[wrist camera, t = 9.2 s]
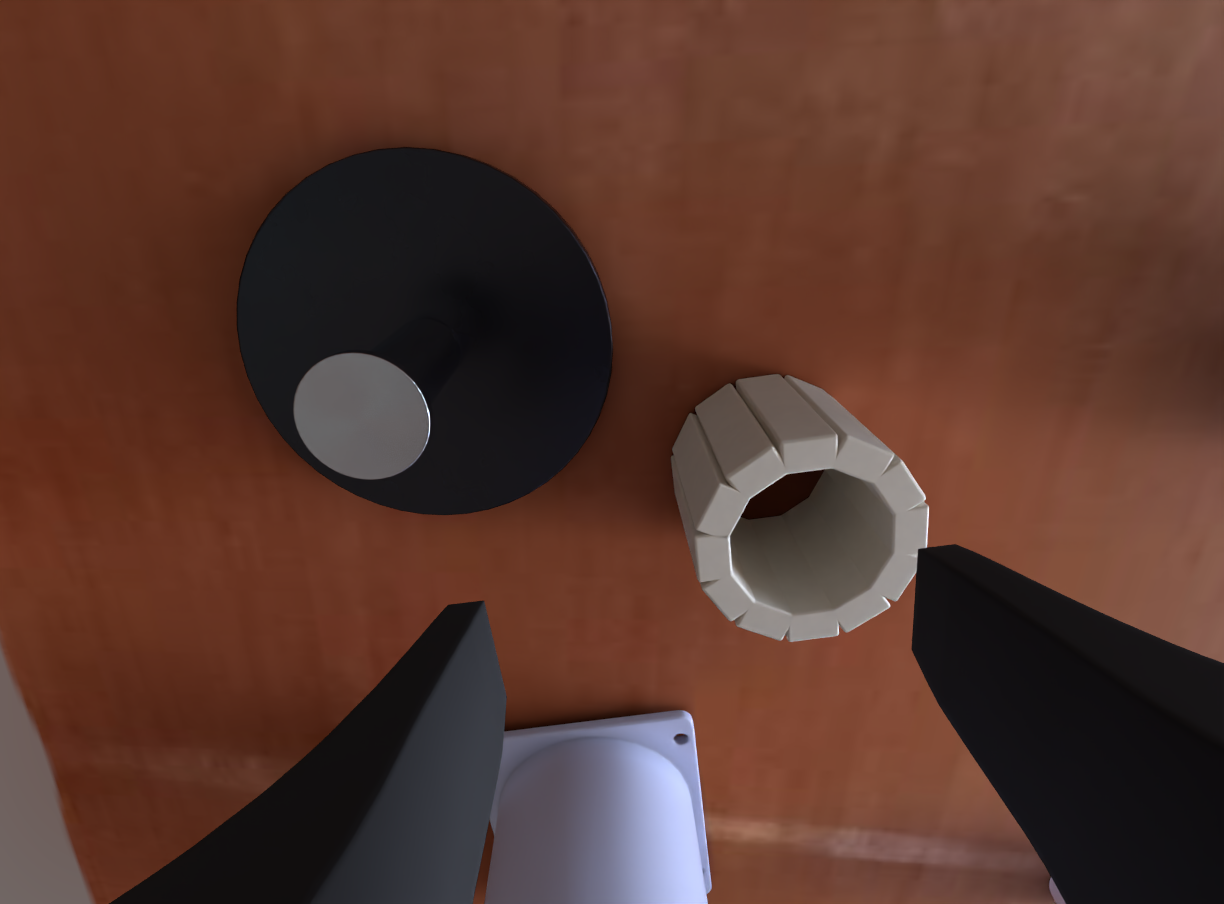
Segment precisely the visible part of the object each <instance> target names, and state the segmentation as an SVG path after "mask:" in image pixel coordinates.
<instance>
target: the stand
mask: <svg viewBox="0 0 1224 904" xmlns="http://www.w3.org/2000/svg"><path fill="white" fill-rule="evenodd" d="M237 332H238V338H239V345H240V352H241V355H242V359H243V362H244V366H245V369H246V373H247V376H248V379H249V381H250V383H251V386H252V388H253V390H254V393H255V395H256V397H257V399H258V401H259V403H260V405H261V406H262V408H263V410H264V412H265V413H266V415H267V417H268V419H269V420H270V421H271V423H272V424H273V425H274V427H275V428H276V429H277V431H278V432H279V434H280V435H281V436H282V438H283V439H284V440H285V441H286V442H287V443H288V444H289V445H290V446H291V447H292V449H293V450H294V451H295V452H296V453H297V454H298V455H299V456H300V457H301V458H302V459H304V460H305V461H306V462H307V463H308V464H309V465H311V466H312V467H313V468H314V469H315V470H316V471H318V472H319V473H320V474H322V475H323V476H325V477H326V478H328V479H329V480H331V481H332V482H334V483H335V484H337V485H338V486H340V487H342V488H344V489H346V490H348V491H349V492H351V493H353V494H355V495H357V496H359V497H362V498H364V499H367V500H369V501H372V502H374V503H377V504H379V505H383V506H386V507H390V508H394V509H397V510H401V511H407V512H413V513H419V514H432V515H454V514H467V513H473V512H478V511H483V510H488V509H491V508H495V507H498V506H501V505H504V504H507V503H510V502H512V501H514V500H516V499H518V498H520V497H523V496H525V495H527V494H529V493H531V492H532V491H534V490H535V489H537V488H538V487H540V486H542V485H543V484H545V483H546V482H548V481H549V480H550V479H551V478H552V477H554V476H555V475H556V474H557V473H558V472H560V471H561V470H562V469H563V468H564V467H565V466H566V465H567V464H568V463H569V461H570V460H571V459H572V458H573V457H574V456H575V455H576V454H577V453H578V451H579V450H580V448H581V447H582V445H583V444H584V443H585V441H586V440H587V438H588V437H589V435H590V434H591V432H592V430H593V428H594V426H595V424H596V422H597V420H598V418H599V416H600V413H601V410H602V407H603V404H604V402H605V399H606V396H607V392H608V387H609V382H610V377H611V371H612V356H613V342H612V327H611V319H610V314H609V309H608V304H607V299H606V295H605V292H604V289H603V287H602V284H601V281H600V278H599V275H598V272H597V270H596V268H595V266H594V264H593V262H592V260H591V258H590V256H589V254H588V252H587V250H586V249H585V247H584V246H583V244H582V243H581V241H580V240H579V238H578V237H577V235H576V234H575V232H574V231H573V229H572V228H571V227H570V226H569V225H568V223H567V222H566V221H565V220H564V219H563V218H562V216H561V215H560V214H559V213H558V212H557V211H556V210H555V209H554V208H553V207H552V206H551V205H550V204H549V203H548V202H547V201H545V200H544V199H543V198H542V197H541V196H540V195H539V194H538V193H537V192H535V191H534V190H532V189H531V188H529V187H528V186H527V185H525V184H524V183H522V182H521V181H519V180H518V179H516V178H515V177H513V176H511V175H509V174H507V173H505V172H504V171H502V170H500V169H498V168H496V167H494V166H492V165H490V164H487V163H484V162H481V161H479V160H476V159H473V158H470V157H467V156H464V155H459V154H455V153H450V152H445V151H441V150H436V149H425V148H411V147H401V148H387V149H377V150H373V151H368V152H364V153H359V154H355V155H352V156H349V157H346V158H344V159H341V160H339V161H336V162H334V163H331V164H329V165H327V166H325V167H323V168H322V169H320V170H318V171H316V172H315V173H313V174H311V175H310V176H308V177H306V178H305V179H304V180H302V181H301V182H300V183H299V184H298V185H296V186H295V187H294V188H293V189H291V190H290V191H289V192H288V193H287V194H286V195H285V196H284V197H283V198H282V199H281V200H280V201H279V202H278V204H277V205H276V206H275V207H274V208H273V209H272V210H271V211H270V213H269V214H268V216H267V217H266V219H265V220H264V222H263V223H262V225H261V227H260V228H259V230H258V231H257V233H256V235H255V237H254V239H253V242H252V244H251V246H250V248H249V251H248V253H247V255H246V259H245V262H244V266H243V269H242V273H241V277H240V281H239V289H238V297H237Z"/></svg>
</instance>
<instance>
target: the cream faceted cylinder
mask: <svg viewBox="0 0 1224 904" xmlns="http://www.w3.org/2000/svg"><path fill="white" fill-rule="evenodd" d="M695 411H696V414H697V415H695V414H693V413H689V415H688V417H687V419H686V421H685V423H684V425H683V427H682V429H681V431H680V433H679V436H678V438H677V440H676V442H675V444H674V446H673V448H672V451H673V455H672V456H671V464H672V473H673V482H674V492H675V496H676V499H677V503H678V507H679V511H680V515H681V518H682V522H683V526H684V530H685V534H686V537H687V541H688V545H689V549H690V553H691V557H692V560H693V564H694V568H695V572H696V576H697V579H698V581H699V582H700V584H701V587H702V590H703V591H704V592H705V593H706V595H707V596H708V597H709V598H710V599H711V600H712V602H713V603H714V604H715V605H716V606H717V607H718V609H719V610H720V611H721V612H722V613H723V614H724V616H725V617H726V618H727V619H728V620H729V621H733V620H735V623H736V625H737V626H738V627H740V628H743V629H746V630H749V631H752V632H755V633H758V634H761V635H764V636H767V637H770V638H773V639H776V640H779V641H780V640H782V639H783V637H784V636H785V635H786V637H787V640H788V641H790V642H792V641H800V640H808V639H816V638H824V637H832V636H838V635H839V625H840V627H841V628H842V629H843V630H844V632H846V633H847V632H849V631H851V630H852V629H854V628H856V627H857V626H859V625H861V624H862V623H864V622H866V621H868V620H869V619H871V618H873V617H874V616H876V615H878V614H879V613H881V612H883V611H884V610H886V609H888V608H889V607H890V604H889V603H888V601H887V600H886V598H888V599H891V600H893V601H897V600H898V598H899V597H900V595H901V594H902V592H903V591H904V589H905V588H906V586H907V585H908V583H909V582H910V581H911V579H912V578H913V576H914V575H915V573H916V572H917V556H918V549H920V548H927V532H928V514H929V507H928V505H927V504H926V503H925V502H924V500H925V499H926V498H925V494H924V493H923V491H922V490H921V488H920V487H919V485H918V484H917V482H916V481H915V479H914V478H913V476H912V475H911V473H910V472H909V470H908V468H907V467H906V465H905V464H904V462H903V461H902V460H901V459H900V458H899V457H898V456H897V455H896V454H895V453H894V452H892V451H891V450H890V449H889V448H888V447H887V446H886V445H885V444H884V443H882V442H881V441H880V440H879V439H878V438H877V437H876V436H875V435H874V434H873V433H871V432H870V431H869V430H868V429H867V428H866V427H865V426H864V425H863V424H861V423H860V422H859V421H858V420H857V419H856V418H855V417H854V416H853V415H852V414H850V413H849V412H848V411H847V410H846V409H845V408H844V407H843V406H842V405H840V404H839V403H838V402H837V401H836V400H835V399H834V398H833V397H832V396H830V395H829V394H827V393H826V392H825V391H824V390H823V389H821V388H818V387H816V386H814V385H811V384H809V383H806V382H804V381H801V380H799V379H797V378H794V377H792V376H789V375H786V376H785V377H784V379H783V377H782V376H781V375H779V374H774V375H766V376H759V377H752V378H744V379H738V380H737V381H736V389H735V388H734V387H733V385H732V384H730V383H729V384H727V385H725V386H724V387H723V388H721V389H720V390H718V391H717V392H716V393H714V394H713V395H711V396H710V397H709V398H707V399H706V400H704V401H703V402H702V403H700V404H699V405H697V406H696V407H695ZM823 469H825V470H824V472H823V474H822V475H821V477H820V479H819V481H818V482H817V484H816V486H815V487H814V489H813V491H812V493H811V494H810V496H809V498H807V499H806V500H804V501H802V502H801V503H799V504H798V505H796V506H795V507H793V508H792V509H790V510H789V511H787V512H786V513H784V514H783V515H781V516H774V517H766V518H759V519H751V520H748V519H745V518H742V517H740V516H741V514H742V513H743V511H744V509H745V507H746V505H747V503H748V501H749V500H750V498H752V497H753V496H755V495H756V494H758V493H759V492H761V491H762V490H764V489H765V488H767V487H768V486H770V485H771V484H773V483H774V482H776V481H777V480H779V479H780V478H782V477H783V476H785V475H786V474H793V473H800V472H808V471H815V470H823Z"/></svg>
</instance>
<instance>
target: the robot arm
mask: <svg viewBox="0 0 1224 904" xmlns="http://www.w3.org/2000/svg"><path fill="white" fill-rule="evenodd" d="M912 651H913V653H914V656H915V658H916V660H917V662H918V664H919V666H920V668H921V670H922V672H923V674H924V677H925V679H926V681H927V683H928V685H929V687H930V688H931V690H932V692H933V694H934V696H935V698H936V700H937V702H938V704H939V706H940V707H941V709H942V710H943V712H944V713H945V715H946V717H947V718H948V720H949V721H950V723H951V724H952V726H953V727H954V729H955V730H956V732H957V733H958V735H959V736H960V738H961V739H962V741H963V742H964V744H965V745H966V747H967V748H968V750H969V751H970V753H971V754H972V756H973V757H974V759H975V760H976V762H977V763H978V765H979V766H980V768H981V769H982V771H983V772H984V774H985V775H986V777H987V778H988V779H989V781H990V782H991V784H992V785H993V787H994V788H995V790H996V791H997V793H998V794H999V796H1000V797H1001V799H1002V800H1003V802H1004V803H1005V805H1006V806H1007V808H1008V809H1009V811H1010V812H1011V814H1012V815H1013V817H1014V818H1015V820H1016V821H1017V823H1018V824H1019V825H1020V827H1021V828H1022V830H1023V831H1024V833H1025V834H1026V836H1027V838H1028V839H1029V841H1030V842H1031V844H1032V846H1033V847H1034V849H1035V851H1036V852H1037V854H1038V855H1039V857H1040V859H1041V860H1042V862H1043V863H1044V865H1045V867H1046V868H1047V870H1048V872H1049V874H1050V876H1051V878H1052V879H1053V881H1054V883H1055V885H1056V887H1057V888H1058V890H1059V892H1060V894H1061V896H1062V898H1063V899H1064V901H1065V903H1066V904H1224V663H1222V662H1219V661H1216V660H1213V659H1211V658H1208V657H1205V656H1202V655H1200V654H1197V653H1195V652H1192V651H1190V650H1187V649H1185V648H1182V647H1180V646H1177V645H1175V644H1172V643H1170V642H1167V641H1165V640H1163V639H1160V638H1158V637H1156V636H1153V635H1151V634H1149V633H1146V632H1144V631H1142V630H1139V629H1137V628H1135V627H1132V626H1130V625H1128V624H1125V623H1123V622H1121V621H1118V620H1116V619H1114V618H1112V617H1110V616H1107V615H1105V614H1103V613H1101V612H1099V611H1096V610H1094V609H1092V608H1090V607H1088V606H1086V605H1083V604H1081V603H1079V602H1077V601H1075V600H1073V599H1071V598H1069V597H1067V596H1064V595H1062V594H1060V593H1058V592H1056V591H1054V590H1052V589H1050V588H1048V587H1046V586H1044V585H1042V584H1040V583H1038V582H1036V581H1033V580H1031V579H1029V578H1027V577H1025V576H1023V575H1021V574H1019V573H1017V572H1015V571H1013V570H1011V569H1009V568H1007V567H1005V566H1003V565H1001V564H999V563H997V562H994V561H992V560H990V559H988V558H986V557H984V556H982V555H980V554H977V553H975V552H973V551H971V550H968V549H966V548H963V547H961V546H959V545H956V544H954V545H945V546H937V547H929V548H920V549H918V556H917V572H916V588H915V604H914V620H913V636H912ZM506 698H507V696H506V692H505V688H504V684H503V679H502V675H501V671H500V667H499V662H498V658H497V654H496V650H495V645H494V641H493V637H492V632H491V628H490V624H489V620H488V615H487V611H486V607H485V603H484V601H477V602H468V603H460V604H451V605H448V606H447V607H446V608H445V609H444V610H443V611H442V612H441V613H440V614H439V615H438V617H437V618H436V619H435V620H434V621H433V622H432V623H431V625H430V626H429V627H428V628H427V629H426V630H425V632H424V633H423V634H422V635H421V636H420V637H419V639H418V640H417V641H416V642H415V643H414V644H413V645H412V647H411V648H410V649H409V650H408V651H407V652H406V654H405V655H404V656H403V657H402V658H401V659H400V660H399V661H398V662H397V664H396V665H395V666H394V667H393V668H392V669H391V670H390V671H389V673H388V674H387V675H386V676H385V677H384V678H383V679H382V680H381V681H380V683H379V684H378V685H377V686H376V687H375V688H374V689H373V690H372V691H371V692H370V693H369V694H368V695H367V696H366V697H365V698H364V699H363V700H362V701H361V702H360V703H359V704H358V705H357V706H356V707H355V708H354V709H353V710H352V711H351V712H350V713H349V714H348V715H347V716H346V717H345V718H344V720H343V721H342V722H341V723H340V724H339V725H338V726H337V727H336V728H335V729H334V730H333V731H332V732H331V733H330V734H329V735H328V736H327V737H325V738H324V739H323V740H322V741H321V742H320V743H319V744H318V745H317V746H316V747H315V748H314V749H313V750H312V751H310V752H309V753H308V754H307V755H306V756H305V757H304V758H303V759H302V760H301V761H299V762H298V763H297V764H296V765H295V766H294V767H292V768H291V769H290V770H289V771H288V772H287V773H285V774H284V775H283V776H282V777H281V778H280V779H278V780H277V781H276V782H275V783H274V784H273V785H272V786H270V787H269V788H268V789H267V790H265V791H264V792H263V793H262V794H261V795H259V796H258V797H257V798H256V799H254V800H253V801H252V802H250V803H249V804H248V805H246V806H245V807H244V808H243V809H241V810H240V811H239V812H237V813H236V814H235V815H233V816H232V817H231V818H230V819H228V820H227V821H226V822H224V823H223V824H222V825H220V826H219V827H218V828H216V829H215V830H214V831H213V832H211V833H210V834H209V835H207V836H206V837H205V838H203V839H202V840H201V841H199V842H198V843H197V844H196V845H194V846H193V847H191V848H190V849H189V850H187V851H186V852H185V853H183V854H182V855H180V856H179V857H177V858H176V859H175V860H173V861H172V862H170V863H169V864H167V865H166V866H164V867H163V868H162V869H160V870H159V871H157V872H156V873H154V874H153V875H151V876H150V877H149V878H147V879H146V880H144V881H143V882H141V883H140V884H138V885H137V886H135V887H134V888H132V889H130V890H129V891H127V892H126V893H124V894H123V895H121V896H120V897H118V898H117V899H115V900H114V901H112V902H111V903H109V904H473V898H474V893H475V888H476V883H477V878H478V873H479V868H480V863H481V858H482V853H483V848H484V844H485V839H486V834H487V829H488V824H489V819H490V823H491V826H492V830H493V833H494V843H493V849H492V856H491V863H490V869H489V876H488V883H487V889H486V896H485V903H484V904H708V902H707V896H706V894H707V893H709V891H710V890H711V887H712V885H711V876H710V867H709V858H708V849H707V840H706V832H705V823H704V814H703V805H702V796H701V787H700V778H699V769H698V760H697V752H696V743H695V734H694V725H693V720H692V717H691V715H690V714H689V713H688V712H686V711H683V710H675V711H666V712H658V713H650V714H642V715H634V716H626V717H618V718H610V719H602V720H593V721H585V722H577V723H569V724H561V725H553V726H545V727H537V728H529V729H520V730H512V731H504V728H505V713H506ZM680 733H683V734H684V735H682V736H676V735H677V734H680Z"/></svg>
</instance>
